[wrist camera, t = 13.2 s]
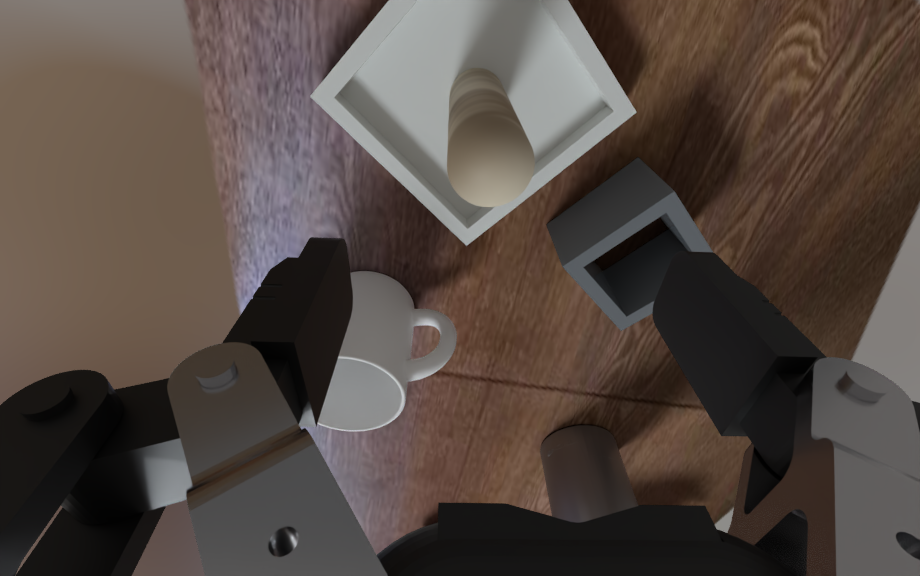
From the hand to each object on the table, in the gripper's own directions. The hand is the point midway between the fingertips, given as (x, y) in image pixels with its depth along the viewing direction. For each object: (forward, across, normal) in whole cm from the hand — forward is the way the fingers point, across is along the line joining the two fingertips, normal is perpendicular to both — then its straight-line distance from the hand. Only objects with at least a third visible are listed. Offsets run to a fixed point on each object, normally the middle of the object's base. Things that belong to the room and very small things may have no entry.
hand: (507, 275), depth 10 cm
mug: (+21, +6, +18) cm, 28 cm away
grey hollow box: (+21, -12, +9) cm, 26 cm away
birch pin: (+20, 0, 0) cm, 20 cm away
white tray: (+21, 0, 0) cm, 21 cm away
